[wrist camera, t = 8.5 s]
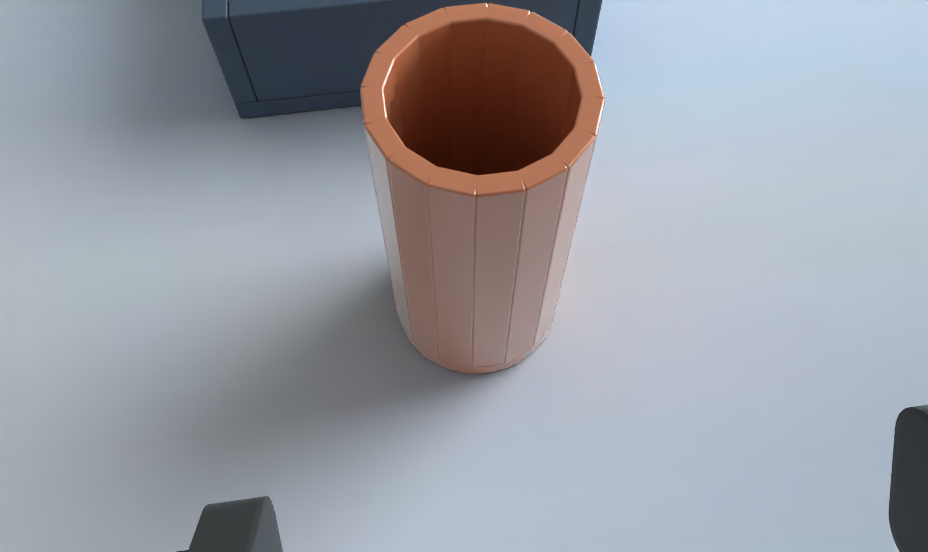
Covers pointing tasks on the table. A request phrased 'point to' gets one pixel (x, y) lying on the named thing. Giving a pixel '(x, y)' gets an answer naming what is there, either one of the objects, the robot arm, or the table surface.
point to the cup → (479, 175)
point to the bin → (332, 44)
